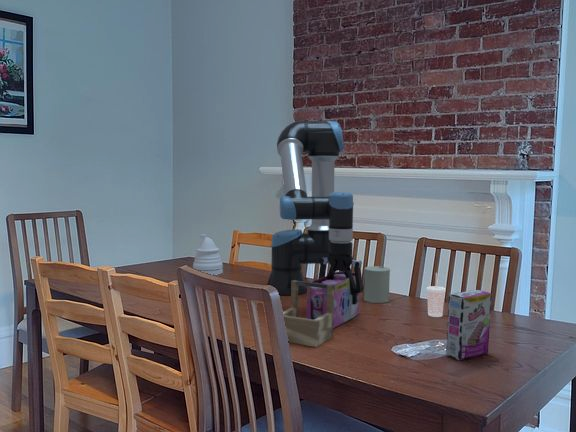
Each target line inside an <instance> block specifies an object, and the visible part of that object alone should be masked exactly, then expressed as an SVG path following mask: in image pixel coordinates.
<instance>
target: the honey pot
mask: <svg viewBox="0 0 576 432" xmlns="http://www.w3.org/2000/svg"><path fill="white" fill-rule="evenodd" d="M199 237H200V238H201V239H202V241H201V242H200V245H199V246H198V247H197V248H195V251H196V254H195V256H194V261H193V264H192V269H193V268H194V269H196V270H199V271H201V272H204V273H208V274H211V275H213V274H214V275H218V274H221V273H223V274H224V266H223V265H224V264H223V262H222V258H221V255H220V253H219V251H220V248H219V247H217V245H216V244H215V242H214V240H213V239H212V238H210V237H207V234H203V233H202V234H201V233H200V236H199Z"/></svg>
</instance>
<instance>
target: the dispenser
mask: <svg viewBox="0 0 576 432" xmlns="http://www.w3.org/2000/svg"><path fill="white" fill-rule="evenodd" d="M298 285H301V286H306V287H307V286H309V287H318V288H326V289H327V313H326V314H324V315H322V316H320V317H318V318H316V319H314V320H313V319H306V317H299V294H298ZM290 299H291V300H290V304H291V305H290V307H289V308H287V309H285V310H283V311H282V312H283V316H284V321H285V326H286V331H287V335H288V339H289V342H288V343H291V344H296V345H303V346H308V347H314V348H317V347H319V346H321V345H322V344H323V343H325V342H326V341H329V340H330V339H332V338H333V337H334V328H333V327H334V285H331V284H321V283H313V282H312V281H305V282H304V281H297V280H293V281H291V295H290Z"/></svg>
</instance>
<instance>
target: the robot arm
mask: <svg viewBox="0 0 576 432" xmlns="http://www.w3.org/2000/svg"><path fill="white" fill-rule="evenodd" d="M276 148H277V149H276V150H277V154H278V155H279V157H280V162H281V173H282V181H283V182H282V184H283V193H284V196H281V197H280V198H279V216H280V219H283V220H289V221H291V220H292V221H296V220H297V221H298V220H311V223H310V225H309V227H308V228H307V232H306V233H305V232H303V230H302V229H286V230H281V231H277V232H275V233H273V234H272V236H271V244H270V247H271V267H270V269H271V272H270V275H269V278H268V281H267V283H266V286H267V285H271V286H273V287H275V288H276V289H277V290H278V292H279V294H280V296H291V281H293V280H297V281H304V282H306V281H305V277H304V275H303V267H302V265H305V264H306V265H317V264H319V272H318V278H317V279H320V278H323V277H325V276H328V280H331V279H332V278H333V276H334V274H335V272H343V273H344V274H345V276H346V279H347V278H349V280H350V290H351V294H350V297H349V315H352V314H354V313H355V304H357V295H358V293H359V294H361V293H363V292H364V283H363V276H362V263H363V261H362V260H355V259H354V258H353V243H352V242H353V239H354V238H353V237H354V235H353V232H354V230H353V229H354V228H353V225H354V218H353V217H354V204H355V203H354V195H353V194H352V193H351V192H347V191H346V192H344V191H341V192H340V191H336V192H335V162H336V160H338V158H339V156H340V155H339V154H341V153H342V152H343V151H344V137H343V129H342V127H341V124H340V123H338V121H332V120H295V121H293V122H291V123H290V124H289V123H288V125H287V126H285V128H284V129H282V131H281V132H280V134H279V136H278V138H277V142H276ZM303 153H307V158H308V159H309V161H311V196H308V192H307V186H306V179H305V178H306V177H305V170H304V163H303V158H302V157H303ZM328 264H329V265H330V266H329V270H328V273H327V268H328V267H327V266H328ZM351 266H352V267H353V268H354V269H353V271H354V272H352V269H351ZM326 273H327V275H326ZM352 273H355V280H356V284H355V281H354V278H353V276H352ZM305 293H307V286H301V285H298V295H302V294H305Z"/></svg>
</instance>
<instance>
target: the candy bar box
mask: <svg viewBox="0 0 576 432" xmlns="http://www.w3.org/2000/svg"><path fill="white" fill-rule="evenodd" d="M491 306H492V293H490V292H488V291H483V290H479V289H474V290H469V291H461V292H454V293H449V294H448V307H447V308H448V309H447V311H448V312H447V328H446V329H447V331H446V350H445V356H447V357H449V358H451V359H454V360H456V361H462V360H463V361H464V360H467V359H471V358H475V357H479V356H483V355H487V354H488V353H489V343H490V342H489V341H490V326H491V325H490V321H491Z"/></svg>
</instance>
